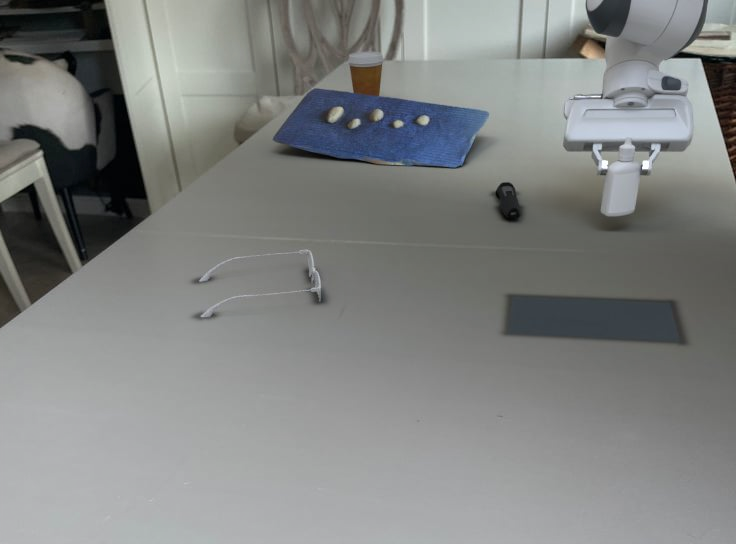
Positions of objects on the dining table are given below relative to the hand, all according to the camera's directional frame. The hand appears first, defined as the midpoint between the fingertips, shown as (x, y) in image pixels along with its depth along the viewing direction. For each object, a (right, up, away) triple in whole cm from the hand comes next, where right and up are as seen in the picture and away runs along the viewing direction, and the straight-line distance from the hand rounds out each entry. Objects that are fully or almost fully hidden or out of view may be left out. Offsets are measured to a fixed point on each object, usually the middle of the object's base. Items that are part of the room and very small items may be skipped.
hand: (624, 173), depth 132 cm
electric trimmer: (-15, +1, +17) cm, 23 cm away
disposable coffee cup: (-40, +54, +86) cm, 109 cm away
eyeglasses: (-59, -22, -8) cm, 63 cm away
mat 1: (-37, +29, +54) cm, 71 cm away
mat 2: (-11, -29, -20) cm, 37 cm away
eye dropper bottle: (0, -5, +5) cm, 7 cm away
